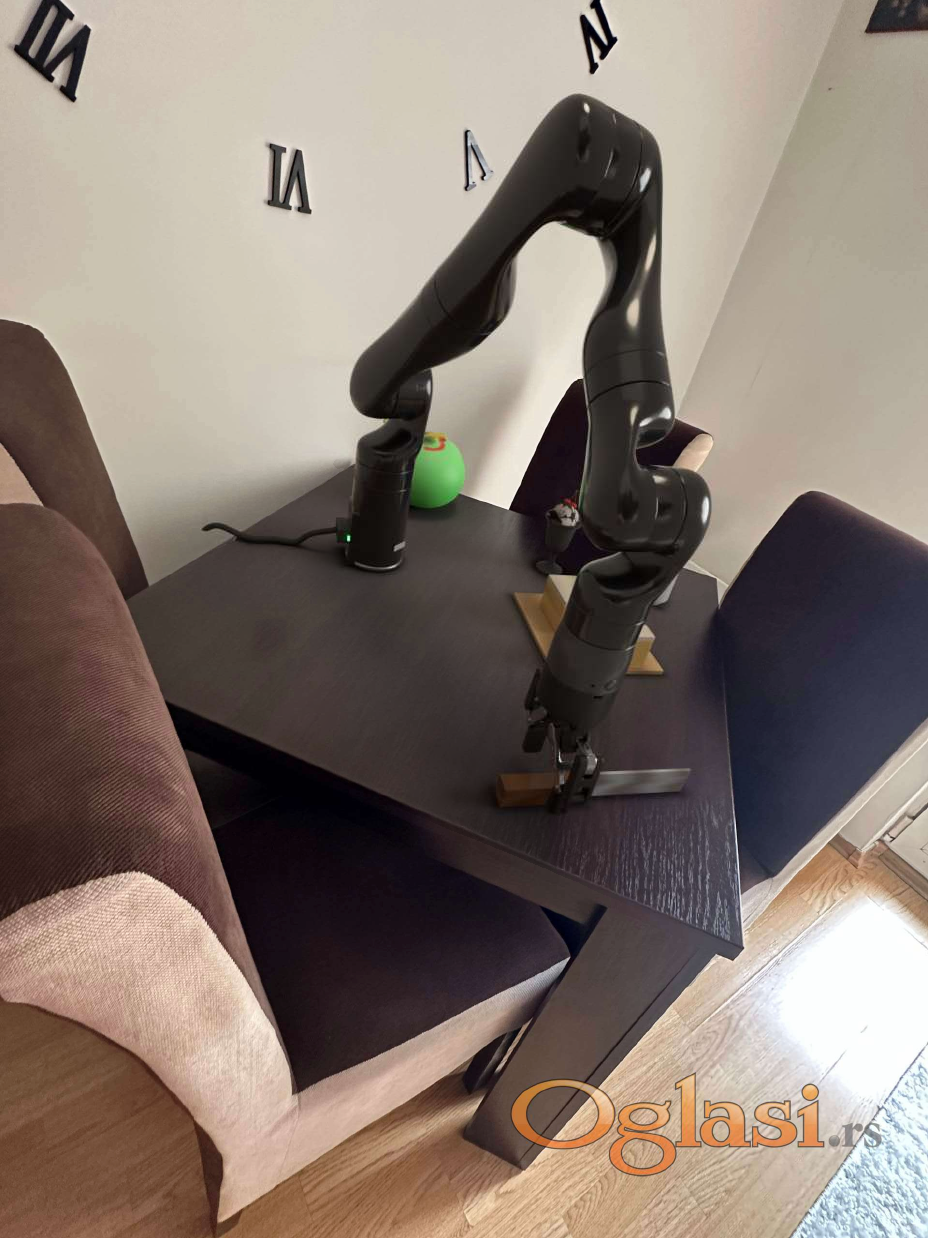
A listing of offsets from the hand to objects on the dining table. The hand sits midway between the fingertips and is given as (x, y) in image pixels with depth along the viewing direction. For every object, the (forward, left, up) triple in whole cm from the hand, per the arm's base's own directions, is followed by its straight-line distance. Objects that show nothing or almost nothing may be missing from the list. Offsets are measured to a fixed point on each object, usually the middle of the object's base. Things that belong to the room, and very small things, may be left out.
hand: (542, 779), depth 71 cm
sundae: (+19, +51, -3) cm, 55 cm away
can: (+35, +43, -3) cm, 56 cm away
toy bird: (-2, +76, -3) cm, 76 cm away
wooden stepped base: (+18, +31, -3) cm, 36 cm away
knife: (+7, 0, -3) cm, 7 cm away
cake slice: (+18, +23, -2) cm, 30 cm away
